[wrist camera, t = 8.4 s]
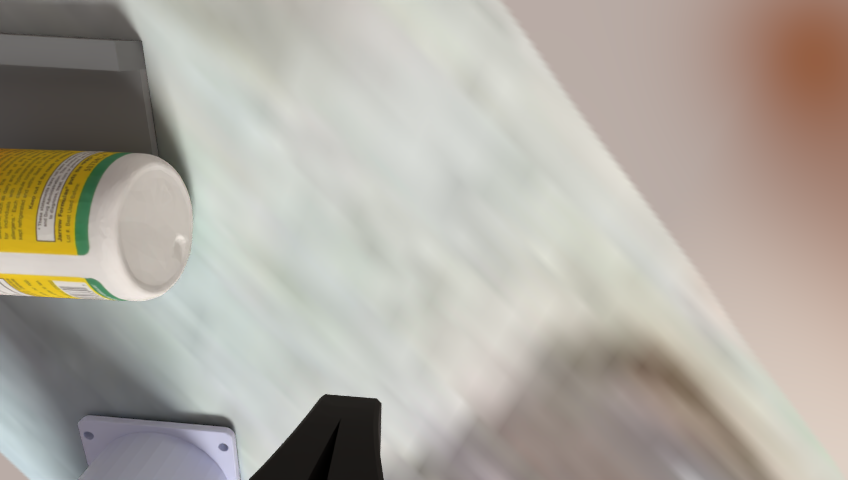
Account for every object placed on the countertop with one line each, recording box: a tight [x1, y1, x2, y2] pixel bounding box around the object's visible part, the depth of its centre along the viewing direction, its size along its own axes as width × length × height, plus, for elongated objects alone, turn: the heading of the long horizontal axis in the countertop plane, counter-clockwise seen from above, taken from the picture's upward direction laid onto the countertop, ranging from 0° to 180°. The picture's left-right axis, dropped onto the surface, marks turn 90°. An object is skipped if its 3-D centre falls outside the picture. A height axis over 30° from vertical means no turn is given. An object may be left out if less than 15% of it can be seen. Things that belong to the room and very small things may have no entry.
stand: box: [0, 33, 159, 157], centre depth 20 cm, size 10×11×2 cm
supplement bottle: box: [0, 148, 193, 301], centre depth 18 cm, size 5×5×10 cm
